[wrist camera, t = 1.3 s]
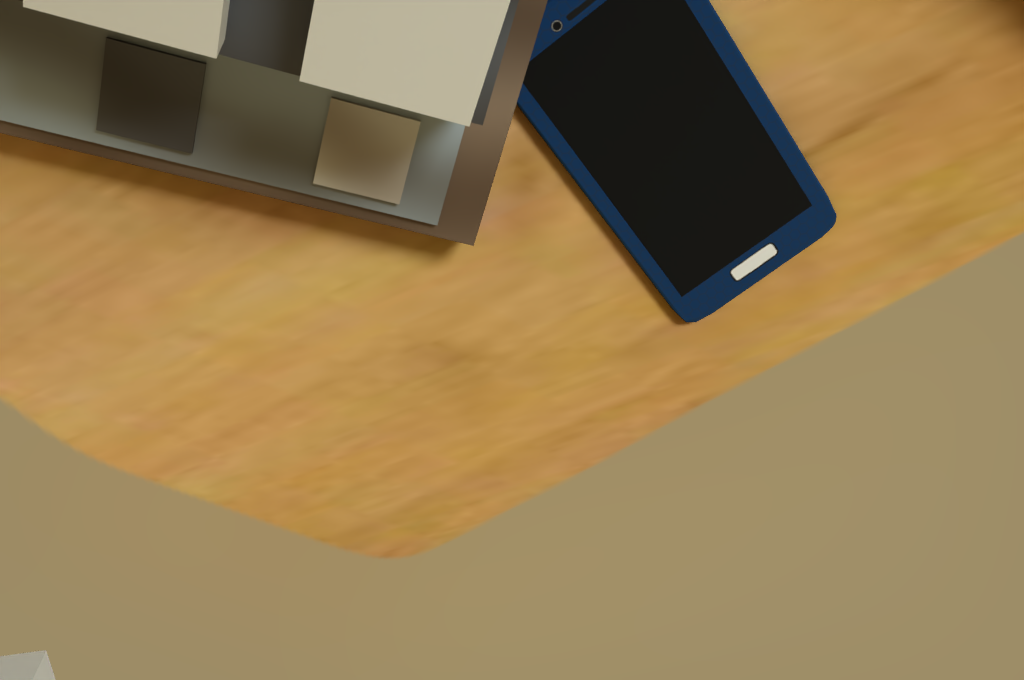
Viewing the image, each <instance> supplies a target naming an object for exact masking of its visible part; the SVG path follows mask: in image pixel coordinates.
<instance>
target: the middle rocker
mask: <svg viewBox="0 0 1024 680" xmlns="http://www.w3.org/2000/svg"><path fill="white" fill-rule="evenodd" d="M229 4H230V0H23V7H26V8H29V9H33V10H37V11H41V12H44V13H48V14H52V15H56V16H59V17H63V18H67V19H70V20H74V21H78V22H82V23H85V24H89V25H93V26H96V27H100V28H104V29H108V30H111V31H115V32H119V33H122V34H126V35H130V36H134V37H137V38H141V39H145V40H149V41H152V42H156V43H160V44H163V45H167V46H171V47H175V48H178V49H182V50H186V51H189V52H193V53H197V54H201V55H204V56H208V57H212V58H217V56H218V54H219V52H220V49H221V47H222V45H223V43H224V40H225V35H226V27H227V19H228V11H229Z"/></svg>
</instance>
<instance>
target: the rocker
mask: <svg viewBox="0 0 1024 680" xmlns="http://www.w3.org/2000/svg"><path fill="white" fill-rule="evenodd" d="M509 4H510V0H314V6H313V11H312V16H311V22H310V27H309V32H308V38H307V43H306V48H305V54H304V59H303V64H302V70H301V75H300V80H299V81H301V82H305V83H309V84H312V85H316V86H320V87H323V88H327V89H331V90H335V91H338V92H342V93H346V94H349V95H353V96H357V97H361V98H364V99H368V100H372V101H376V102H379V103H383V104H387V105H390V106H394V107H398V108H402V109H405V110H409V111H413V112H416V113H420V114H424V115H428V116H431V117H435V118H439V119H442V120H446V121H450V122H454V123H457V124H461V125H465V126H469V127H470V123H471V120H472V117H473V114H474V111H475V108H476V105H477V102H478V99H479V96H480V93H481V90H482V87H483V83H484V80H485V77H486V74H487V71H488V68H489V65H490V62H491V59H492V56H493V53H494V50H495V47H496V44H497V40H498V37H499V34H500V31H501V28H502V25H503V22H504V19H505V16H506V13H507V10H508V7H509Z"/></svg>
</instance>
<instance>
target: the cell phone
mask: <svg viewBox="0 0 1024 680" xmlns="http://www.w3.org/2000/svg"><path fill="white" fill-rule="evenodd" d="M517 105H518V107H519V108H520V109H521V111H522V112H523V113H524V114H525V116H526V117H527V118H528V120H529V121H530V122H531V124H532V125H533V126H534V128H535V129H536V130H537V132H538V133H539V134H540V136H541V137H542V138H543V139H544V141H545V142H546V143H547V145H548V146H549V147H550V149H551V150H552V151H553V153H554V154H555V155H556V157H557V158H558V159H559V161H560V162H561V163H562V164H563V166H564V167H565V168H566V170H567V171H568V172H569V174H570V175H571V176H572V178H573V179H574V180H575V182H576V183H577V184H578V186H579V187H580V188H581V189H582V191H583V192H584V193H585V195H586V196H587V197H588V199H589V200H590V201H591V203H592V204H593V205H594V207H595V208H596V209H597V211H598V212H599V213H600V214H601V216H602V217H603V218H604V220H605V221H606V222H607V224H608V225H609V226H610V228H611V229H612V230H613V232H614V233H615V234H616V236H617V237H618V238H619V239H620V241H621V242H622V243H623V245H624V246H625V247H626V249H627V250H628V251H629V253H630V254H631V255H632V257H633V258H634V259H635V261H636V262H637V263H638V264H639V266H640V267H641V268H642V270H643V271H644V272H645V274H646V275H647V276H648V278H649V279H650V280H651V282H652V283H653V284H654V286H655V287H656V288H657V289H658V291H659V292H660V293H661V295H662V296H663V297H664V299H665V300H666V301H667V303H668V304H669V305H670V307H671V308H672V309H673V310H674V311H675V312H676V313H677V314H678V315H679V316H680V317H681V318H682V319H683V320H684V321H685V322H697V321H699V320H701V319H703V318H704V317H706V316H708V315H710V314H712V313H713V312H715V311H716V310H718V309H719V308H721V307H722V306H723V305H725V304H726V303H728V302H729V301H731V300H732V299H733V298H735V297H736V296H738V295H739V294H741V293H742V292H744V291H745V290H746V289H748V288H749V287H751V286H752V285H754V284H755V283H756V282H758V281H759V280H761V279H762V278H764V277H765V276H767V275H768V274H769V273H771V272H772V271H774V270H775V269H777V268H778V267H779V266H781V265H782V264H784V263H785V262H787V261H788V260H789V259H791V258H792V257H794V256H795V255H797V254H798V253H800V252H801V251H802V250H804V249H805V248H807V247H808V246H810V245H811V244H812V243H814V242H815V241H817V240H818V239H820V238H821V237H822V236H824V235H825V234H826V233H827V232H828V231H829V230H830V229H831V228H832V227H833V226H834V224H835V222H836V213H835V211H834V209H833V207H832V204H831V202H830V200H829V198H828V196H827V194H826V192H825V191H824V189H823V188H822V186H821V184H820V183H819V181H818V179H817V178H816V176H815V174H814V173H813V171H812V169H811V168H810V166H809V164H808V163H807V161H806V160H805V158H804V156H803V155H802V153H801V151H800V150H799V148H798V146H797V145H796V143H795V141H794V140H793V138H792V136H791V135H790V133H789V132H788V130H787V128H786V127H785V125H784V123H783V122H782V120H781V118H780V117H779V115H778V113H777V112H776V110H775V108H774V107H773V105H772V104H771V102H770V100H769V99H768V97H767V95H766V94H765V92H764V90H763V89H762V87H761V85H760V84H759V82H758V80H757V79H756V77H755V76H754V74H753V72H752V71H751V69H750V67H749V66H748V64H747V62H746V61H745V59H744V57H743V56H742V54H741V52H740V51H739V49H738V48H737V46H736V44H735V43H734V41H733V39H732V38H731V36H730V34H729V33H728V31H727V29H726V28H725V26H724V24H723V23H722V21H721V20H720V18H719V16H718V15H717V13H716V11H715V10H714V8H713V6H712V5H711V3H710V1H709V0H548V1H547V4H546V8H545V11H544V14H543V18H542V21H541V24H540V28H539V31H538V34H537V37H536V41H535V44H534V47H533V51H532V54H531V57H530V61H529V64H528V67H527V71H526V74H525V77H524V80H523V84H522V87H521V90H520V94H519V97H518V100H517Z"/></svg>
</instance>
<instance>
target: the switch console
mask: <svg viewBox="0 0 1024 680" xmlns="http://www.w3.org/2000/svg"><path fill="white" fill-rule="evenodd" d="M547 1H548V0H510V4H509V7H508V10H507V13H506V16H505V19H504V22H503V25H502V28H501V31H500V34H499V37H498V40H497V44H496V47H495V50H494V53H493V56H492V59H491V62H490V65H489V68H488V71H487V74H486V77H485V80H484V83H483V87H482V90H481V93H480V96H479V99H478V102H477V105H476V108H475V111H474V114H473V117H472V120H471V123H470V127H469V126H465V125H461V124H457V123H454V122H450V121H446V120H442V119H439V118H435V117H431V116H428V115H424V114H420V113H416V112H413V111H409V110H405V109H402V108H398V107H394V106H390V105H387V104H383V103H379V102H376V101H372V100H368V99H364V98H361V97H357V96H353V95H349V94H346V93H342V92H338V91H335V90H331V89H327V88H323V87H320V86H316V85H312V84H309V83H305V82H301V81H299V80H300V75H301V70H302V64H303V59H304V54H305V48H306V43H307V38H308V32H309V27H310V22H311V16H312V11H313V6H314V0H230V4H229V11H228V19H227V27H226V35H225V40H224V43H223V45H222V47H221V49H220V52H219V54H218V56H217V58H212V57H208V56H204V55H201V54H197V53H193V52H189V51H186V50H182V49H178V48H175V47H171V46H167V45H163V44H160V43H156V42H152V41H149V40H145V39H141V38H137V37H134V36H130V35H126V34H122V33H119V32H115V31H111V30H108V29H104V28H100V27H96V26H93V25H89V24H85V23H82V22H78V21H74V20H70V19H67V18H63V17H59V16H56V15H52V14H48V13H44V12H41V11H37V10H33V9H29V8H26V7H23V0H0V133H3V134H7V135H12V136H16V137H20V138H24V139H28V140H32V141H37V142H41V143H45V144H49V145H53V146H58V147H62V148H66V149H70V150H74V151H79V152H83V153H87V154H91V155H95V156H100V157H104V158H108V159H112V160H116V161H120V162H125V163H129V164H133V165H137V166H141V167H146V168H150V169H154V170H158V171H162V172H167V173H171V174H175V175H179V176H183V177H188V178H192V179H196V180H200V181H204V182H208V183H213V184H217V185H221V186H225V187H229V188H234V189H238V190H242V191H246V192H250V193H255V194H259V195H263V196H267V197H271V198H276V199H280V200H284V201H288V202H292V203H296V204H301V205H305V206H309V207H313V208H317V209H322V210H326V211H330V212H334V213H338V214H343V215H347V216H351V217H355V218H359V219H364V220H368V221H372V222H376V223H380V224H384V225H389V226H393V227H397V228H401V229H405V230H410V231H414V232H418V233H422V234H426V235H431V236H435V237H439V238H443V239H447V240H452V241H456V242H460V243H464V244H468V245H472V246H474V243H475V239H476V236H477V233H478V229H479V226H480V223H481V219H482V216H483V213H484V209H485V206H486V203H487V200H488V196H489V193H490V190H491V186H492V183H493V180H494V176H495V173H496V170H497V166H498V163H499V160H500V157H501V153H502V150H503V147H504V143H505V140H506V137H507V133H508V130H509V127H510V123H511V120H512V117H513V114H514V110H515V107H516V104H517V100H518V97H519V94H520V90H521V87H522V84H523V80H524V77H525V74H526V71H527V67H528V64H529V61H530V57H531V54H532V51H533V47H534V44H535V41H536V37H537V34H538V31H539V28H540V24H541V21H542V18H543V14H544V11H545V8H546V4H547Z"/></svg>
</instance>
